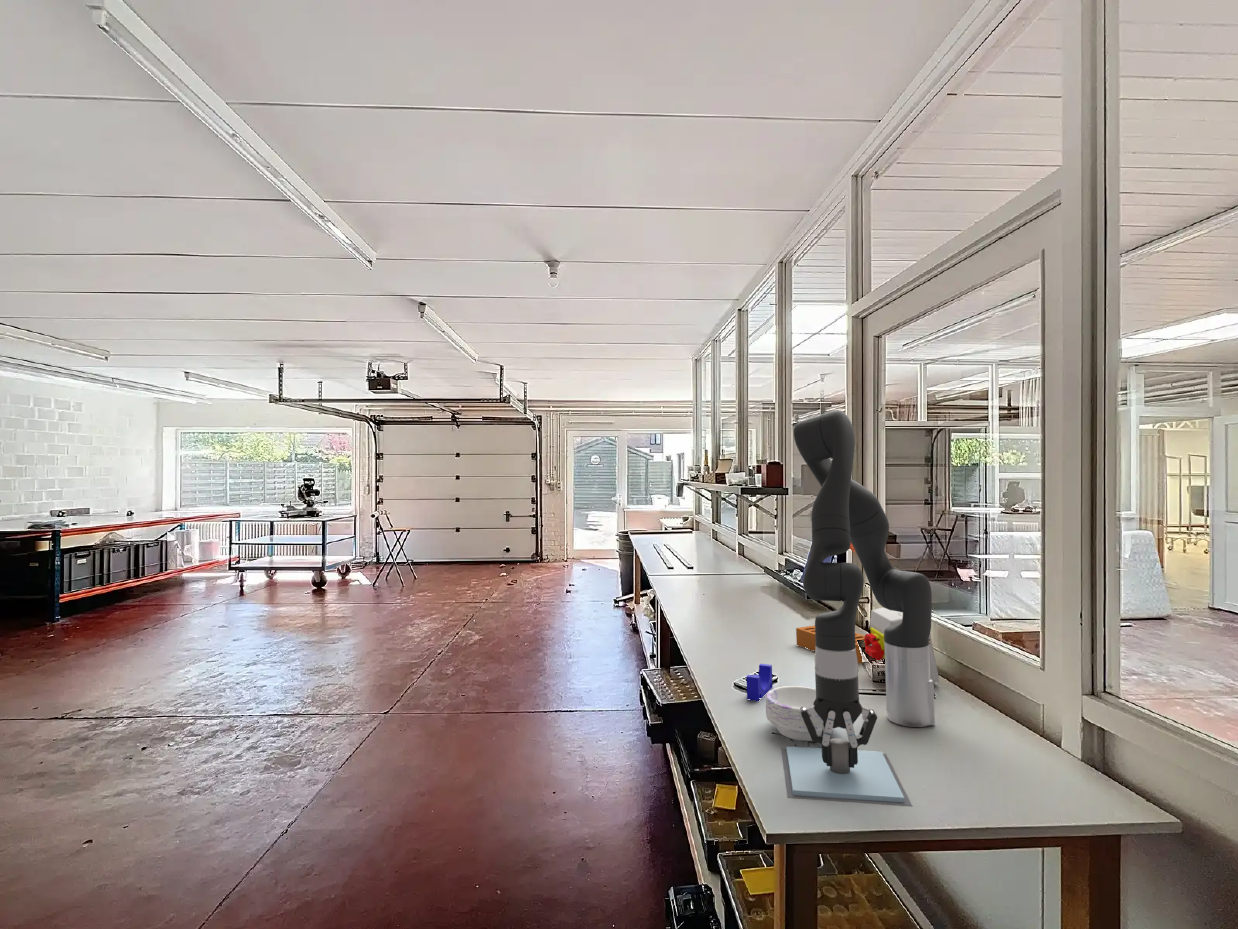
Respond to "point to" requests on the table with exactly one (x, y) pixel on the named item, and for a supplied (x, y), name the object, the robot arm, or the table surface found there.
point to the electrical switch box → (877, 626)
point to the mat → (790, 795)
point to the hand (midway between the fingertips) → (839, 764)
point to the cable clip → (759, 682)
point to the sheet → (842, 774)
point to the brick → (807, 639)
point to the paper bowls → (792, 711)
